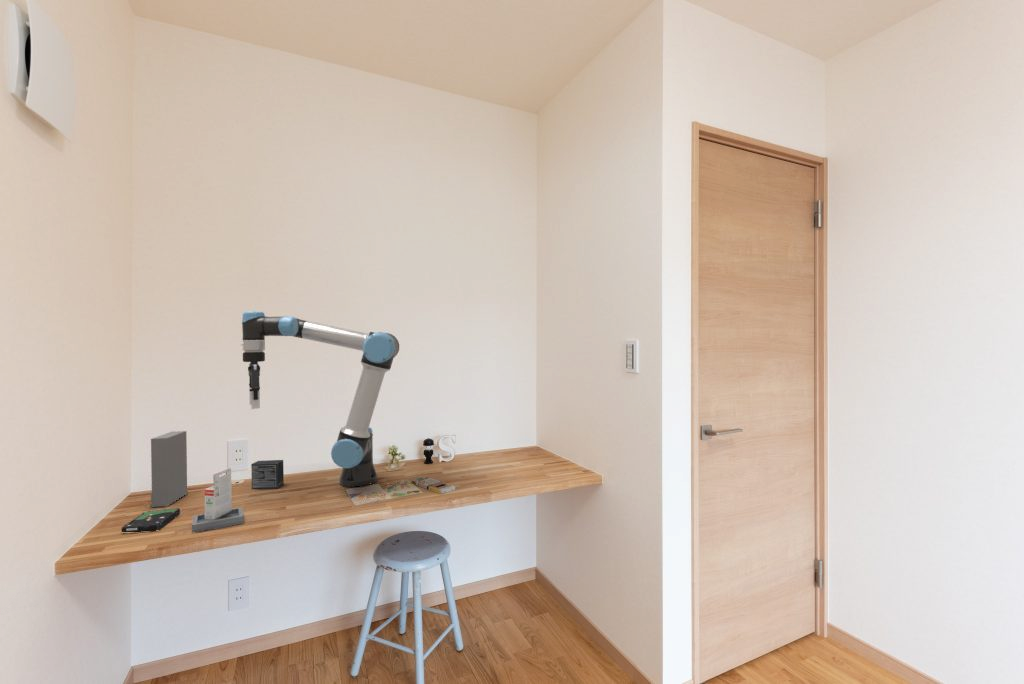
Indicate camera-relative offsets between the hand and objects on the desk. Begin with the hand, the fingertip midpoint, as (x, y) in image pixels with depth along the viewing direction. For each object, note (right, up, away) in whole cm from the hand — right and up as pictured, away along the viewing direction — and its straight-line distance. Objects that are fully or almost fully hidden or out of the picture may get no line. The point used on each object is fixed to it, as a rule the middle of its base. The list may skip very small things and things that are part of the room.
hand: (254, 406), depth 180 cm
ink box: (+3, -33, -27) cm, 42 cm away
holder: (+3, -35, -27) cm, 44 cm away
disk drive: (-19, -36, -26) cm, 48 cm away
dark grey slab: (-30, -35, -4) cm, 46 cm away
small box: (-1, -35, +11) cm, 37 cm away
